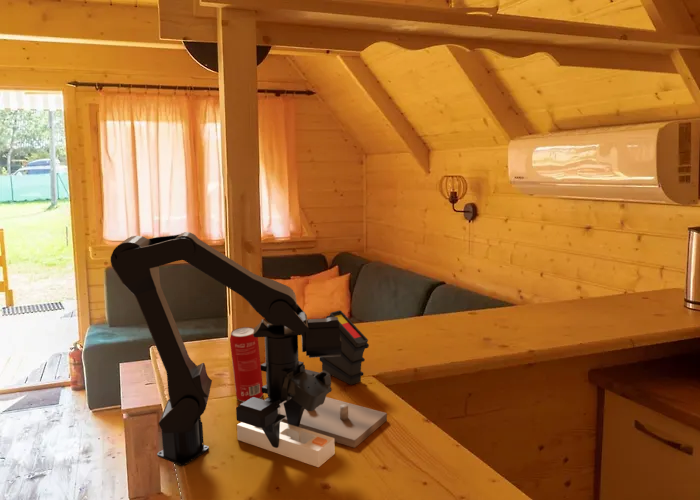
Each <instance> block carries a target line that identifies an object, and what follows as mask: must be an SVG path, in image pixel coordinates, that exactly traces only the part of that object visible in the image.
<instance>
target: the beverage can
mask: <svg viewBox="0 0 700 500" xmlns="http://www.w3.org/2000/svg"><path fill="white" fill-rule="evenodd" d="M254 328H255V327H252V326H251V327H250V326H243V327H238V328H235V329H233V330H232V331H231V333H230V337H229V344H230V353H231V362H232V371H233V380H234V389H235V396H236V397H235V398H236V399H237V400H238V401H239V402H241V403H243V402H245V401H247V400H249V399H250V398H252V397H255V398H259V399H262V397H263V396H264V393H262V388H261V387H263V386H264V383H263V382H264V381H263V375H262V374H263V373H262V372H263V371H261V365H262V364H261V354H260V344H259V337H254V336H253V333H254Z"/></svg>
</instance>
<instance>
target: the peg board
mask: <svg viewBox="0 0 700 500" xmlns="http://www.w3.org/2000/svg"><path fill="white" fill-rule="evenodd" d="M280 414H281V415H285V416H286V412H285V408H284V404H282V405H280ZM387 418H388V414H387V412H384V411H380V410H376V409H372V408H369V407H365V406H362V405H358V404H354V403H351V402H346V401H343V400H339V399H335V398H331V397H329V396H326V398H325V401H324V403H323V404H322V405H320V406H318V407H317V408H316V409H315V410H313V411H307V410H305V409H304V412H303V415H302V418H301V421H300V425H299V427H300V428H303V429H306V430H310V431H313V432H316V433H319V434H323V435H326V436H329V437H332V438H334V441H335V443H338V444H341V445H345V446H347V447H351V448H354V449H355V448H357V447H358V446H359V445H360V444H362V443H363V442H364V441H365V440H366V439H367V438H369V436H371V435H372V434H373V433H374V432H375V431H376V430H378V429H379V427H381V426H382V425H383V424H385V422H387V420H388V419H387ZM281 422H283V423H287V424H288V421H287V417H285V418H284V419H283V420H282V421H281Z"/></svg>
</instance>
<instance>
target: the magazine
mask: <svg viewBox="0 0 700 500" xmlns="http://www.w3.org/2000/svg"><path fill="white" fill-rule="evenodd" d="M329 317H338V320H339V331H340V338H341V356H334V357H319V362H320V363H321V372H322V371H324V370H325V371H326V372H328V373H329V374H330V376H332V377H334V378H336V379H338V380H340V381H342V382H344V383H346V384H349V386H350V385H351V386H352V385H354V384H357V383H360V382H361V381H362V378H361V377H362V376H364V372H363V371H362V363H364V362H365V358H364V357H363V356H364V352H365V351H366V350H365V349H368V348H369V346H370V345H369V343H368V342H369V339H368V338H367V337H366V336H365V335H364V334H363V333H362V332H361V330H360V329H359V328H357V326H356V325H355V323H353V322H352V321H351V319H350V318H349V317H348V316H347V315H346V314H345V313H344V312H343V311H342V310H335V311H332V312H330V313H329V315H327V316H326V317H325V318H329Z"/></svg>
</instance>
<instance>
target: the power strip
mask: <svg viewBox="0 0 700 500" xmlns="http://www.w3.org/2000/svg"><path fill="white" fill-rule="evenodd" d="M236 431H237V441H240V442H243V443H246V444H249V445H252V446H255V447H258V448H261V449H264V450H265V451H266V450H267V451H270V452H273V453H276V454H278V455H281V456H284V457H287V458H290V459H292V460H296V461H298V462H302V463H303V464H304V463H305V464H308V465H310V466H314V467H317V468H319V467H321V466H322V465H323V464H325V462H327V461H328V460H329V459H331V458H332V457H333V456H334V455H335V453H336V451H335V443H336V442H335V441H334V438H332V437H329V436H326V435H323V434H319V433H316V432H313V431H310V430H306V429H303V428H300V427H296V426H293V425H290V424H287V423H283V422H280V434H279V446H278V448H275V447H273V446H272V445H271V443H270V441H269V440H268V438H267V436H266V435H265V433H264V431H263V429H262V428H259V427H255V426H252V425H249V424H246V423H243V422H240V421H239V423H238V424H236Z"/></svg>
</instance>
